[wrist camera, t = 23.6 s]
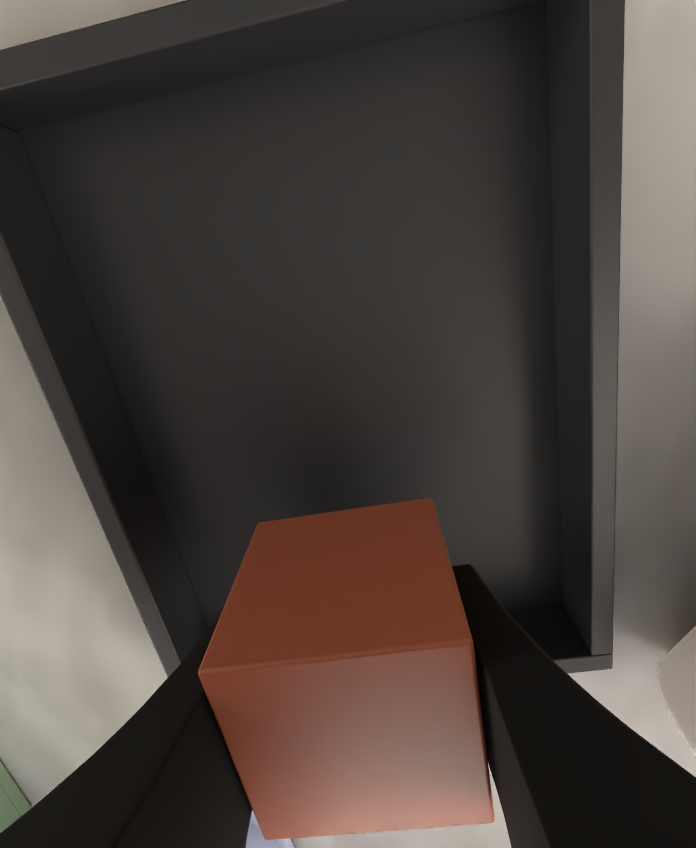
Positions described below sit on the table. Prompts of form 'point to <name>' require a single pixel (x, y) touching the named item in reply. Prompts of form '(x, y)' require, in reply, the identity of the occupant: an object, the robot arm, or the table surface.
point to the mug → (681, 686)
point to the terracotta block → (350, 677)
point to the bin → (10, 800)
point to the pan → (329, 285)
